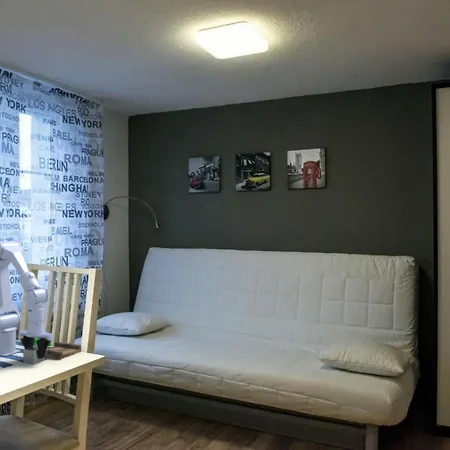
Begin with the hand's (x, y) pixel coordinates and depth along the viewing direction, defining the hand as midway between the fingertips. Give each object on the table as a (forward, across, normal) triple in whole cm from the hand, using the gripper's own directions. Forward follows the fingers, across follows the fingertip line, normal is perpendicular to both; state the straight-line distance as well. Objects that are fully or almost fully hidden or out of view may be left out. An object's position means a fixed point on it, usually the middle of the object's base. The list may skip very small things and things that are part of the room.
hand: (35, 357), depth 180 cm
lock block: (+1, 0, 0) cm, 1 cm away
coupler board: (+1, +1, +12) cm, 12 cm away
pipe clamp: (+2, -11, +17) cm, 21 cm away
